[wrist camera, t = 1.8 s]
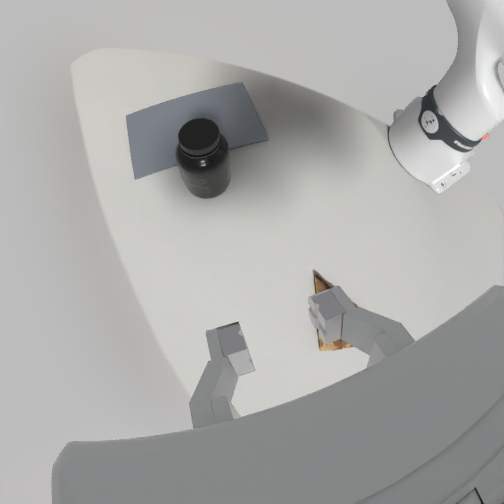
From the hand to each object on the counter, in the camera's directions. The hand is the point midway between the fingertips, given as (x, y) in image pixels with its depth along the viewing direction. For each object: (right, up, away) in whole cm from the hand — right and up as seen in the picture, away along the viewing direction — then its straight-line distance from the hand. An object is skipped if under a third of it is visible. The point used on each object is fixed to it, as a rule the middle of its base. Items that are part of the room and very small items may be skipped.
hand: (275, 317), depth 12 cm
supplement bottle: (-8, +14, +28) cm, 32 cm away
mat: (-11, +24, +30) cm, 40 cm away
